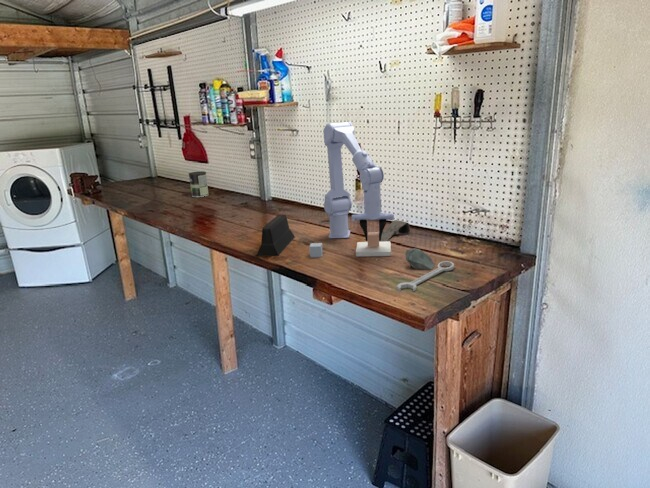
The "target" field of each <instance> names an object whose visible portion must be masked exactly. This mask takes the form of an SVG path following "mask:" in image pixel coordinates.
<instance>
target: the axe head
mask: <svg viewBox="0 0 650 488" xmlns="http://www.w3.org/2000/svg"><path fill="white" fill-rule="evenodd" d="M410 232H411V227H410V223H409V222H407V221H403V220H399V219H394V220H392V221H391V223H389V225H388V226H387V227H386V228H384V229H383V232H382V236H381V241H379V242H383V241H389V240H390V239H391V237H392V236H394V235H406V234H410ZM364 242H367V241H366V238H365V239H364Z"/></svg>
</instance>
